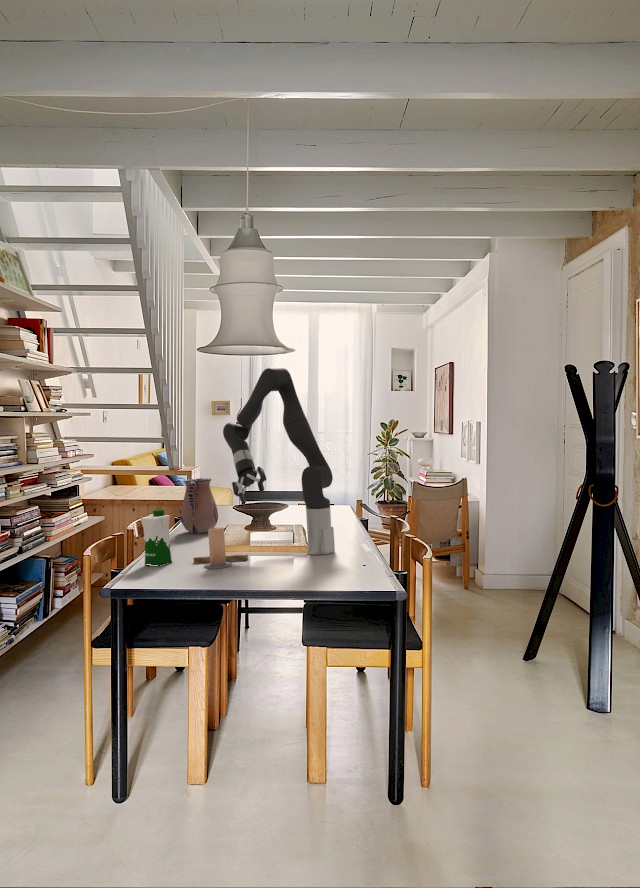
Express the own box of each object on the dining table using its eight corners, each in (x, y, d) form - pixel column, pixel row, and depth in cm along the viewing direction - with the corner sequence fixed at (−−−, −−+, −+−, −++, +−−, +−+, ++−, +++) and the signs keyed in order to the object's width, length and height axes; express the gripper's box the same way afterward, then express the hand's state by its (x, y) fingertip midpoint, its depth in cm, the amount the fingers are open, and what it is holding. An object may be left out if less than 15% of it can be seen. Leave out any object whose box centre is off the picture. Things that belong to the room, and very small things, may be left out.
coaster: (238, 564, 260) (238, 563, 260) (217, 570, 253) (217, 568, 253) (219, 561, 267) (218, 560, 267) (198, 567, 259) (198, 566, 259)
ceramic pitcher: (220, 527, 348) (217, 476, 347) (217, 535, 327) (213, 480, 326) (183, 530, 347) (180, 478, 346) (178, 537, 326) (174, 482, 325)
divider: (248, 559, 268) (247, 554, 268) (247, 560, 267) (247, 554, 267) (194, 562, 268) (193, 557, 268) (193, 563, 267) (193, 558, 266)
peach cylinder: (229, 563, 260) (227, 528, 260) (217, 566, 256) (215, 530, 255) (218, 562, 264) (216, 527, 263) (207, 565, 259) (205, 529, 259)
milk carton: (175, 562, 271) (171, 509, 270) (159, 567, 263) (155, 513, 262) (157, 561, 275) (153, 509, 274) (140, 566, 267) (137, 512, 266)
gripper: (224, 468, 287) (232, 502, 278) (253, 451, 283) (262, 484, 274) (235, 475, 293) (243, 508, 284) (263, 458, 289) (273, 491, 280)
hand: (252, 496), depth 279 cm, fingers open, 8 cm apart
